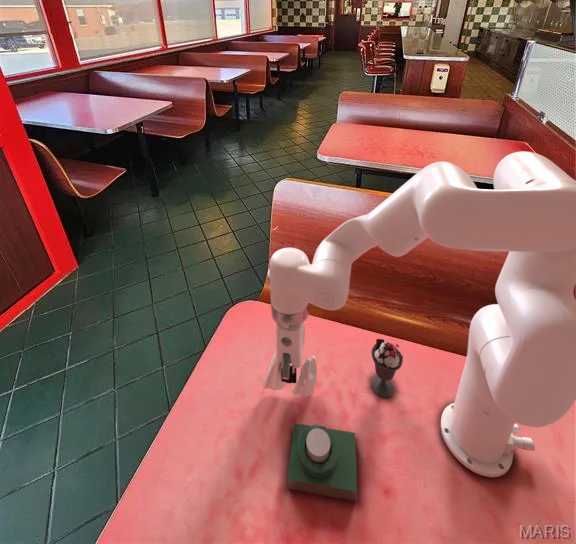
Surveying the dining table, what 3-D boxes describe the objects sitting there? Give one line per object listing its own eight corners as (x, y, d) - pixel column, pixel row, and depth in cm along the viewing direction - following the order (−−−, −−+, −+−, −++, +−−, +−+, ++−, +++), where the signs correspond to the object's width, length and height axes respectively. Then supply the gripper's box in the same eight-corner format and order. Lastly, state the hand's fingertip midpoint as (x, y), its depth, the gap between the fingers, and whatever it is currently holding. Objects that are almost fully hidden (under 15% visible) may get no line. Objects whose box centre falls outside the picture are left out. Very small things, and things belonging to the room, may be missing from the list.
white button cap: (330, 436, 63) (330, 430, 62) (329, 465, 59) (330, 458, 58) (307, 433, 63) (307, 426, 62) (305, 460, 59) (305, 454, 58)
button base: (353, 441, 66) (355, 426, 64) (355, 501, 57) (357, 485, 56) (294, 432, 67) (294, 416, 66) (288, 488, 59) (287, 472, 57)
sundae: (399, 404, 72) (407, 356, 67) (368, 398, 73) (373, 350, 68) (396, 375, 78) (403, 329, 73) (367, 370, 79) (372, 324, 74)
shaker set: (262, 393, 73) (260, 358, 69) (266, 375, 77) (264, 341, 73) (316, 399, 72) (317, 363, 68) (317, 380, 76) (318, 345, 72)
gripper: (304, 346, 58) (303, 413, 64) (311, 279, 73) (310, 339, 80) (262, 341, 59) (266, 408, 65) (278, 276, 74) (280, 335, 81)
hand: (290, 369), depth 72 cm, fingers closed on shaker set, 4 cm apart
